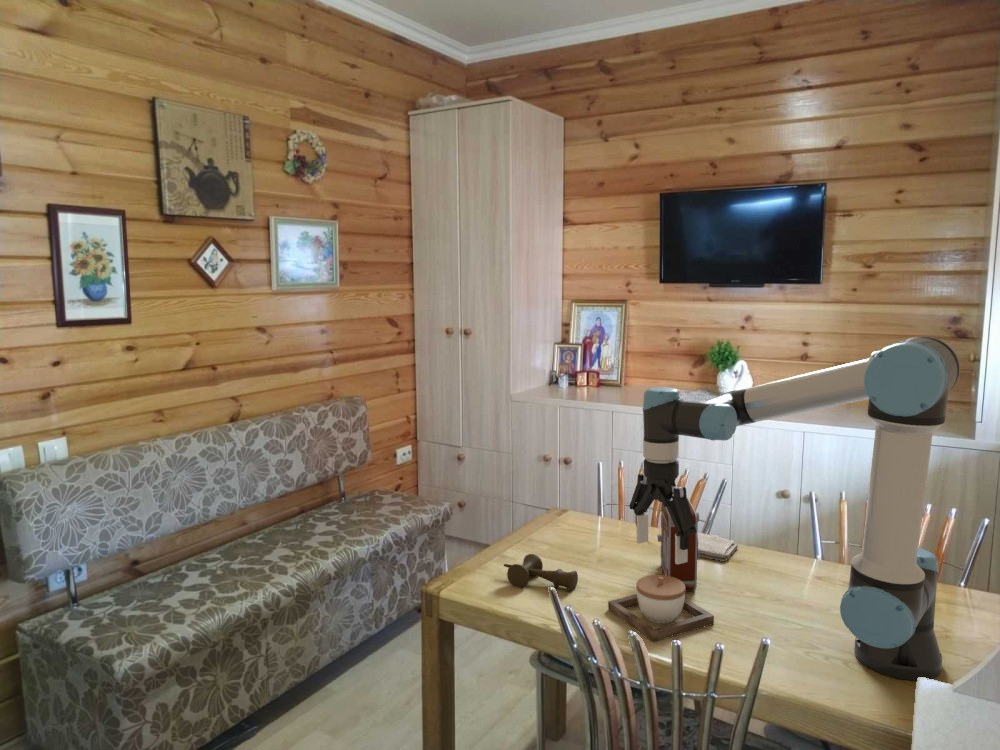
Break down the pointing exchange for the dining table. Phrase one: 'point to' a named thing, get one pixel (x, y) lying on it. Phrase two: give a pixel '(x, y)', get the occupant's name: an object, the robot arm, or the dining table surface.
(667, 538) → the cine camera
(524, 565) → the kendama
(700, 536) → the washcloth
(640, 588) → the lidded jar
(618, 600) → the brown wooden tray
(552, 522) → the dining table surface
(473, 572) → the dining table surface
